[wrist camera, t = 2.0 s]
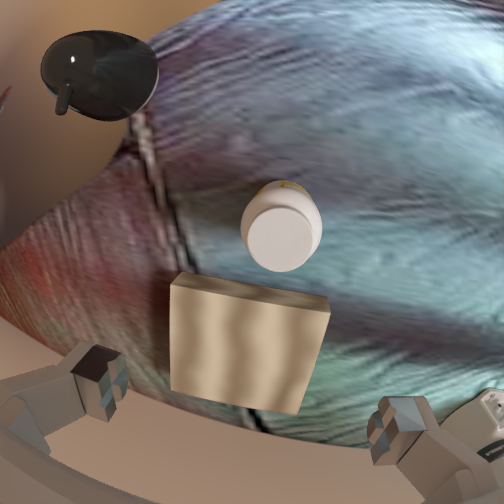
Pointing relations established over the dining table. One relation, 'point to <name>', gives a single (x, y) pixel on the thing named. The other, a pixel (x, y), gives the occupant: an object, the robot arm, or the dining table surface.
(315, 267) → the dining table surface
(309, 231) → the supplement bottle
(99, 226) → the dining table surface
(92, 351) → the robot arm
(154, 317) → the dining table surface
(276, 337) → the birch plinth
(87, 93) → the pump dispenser
